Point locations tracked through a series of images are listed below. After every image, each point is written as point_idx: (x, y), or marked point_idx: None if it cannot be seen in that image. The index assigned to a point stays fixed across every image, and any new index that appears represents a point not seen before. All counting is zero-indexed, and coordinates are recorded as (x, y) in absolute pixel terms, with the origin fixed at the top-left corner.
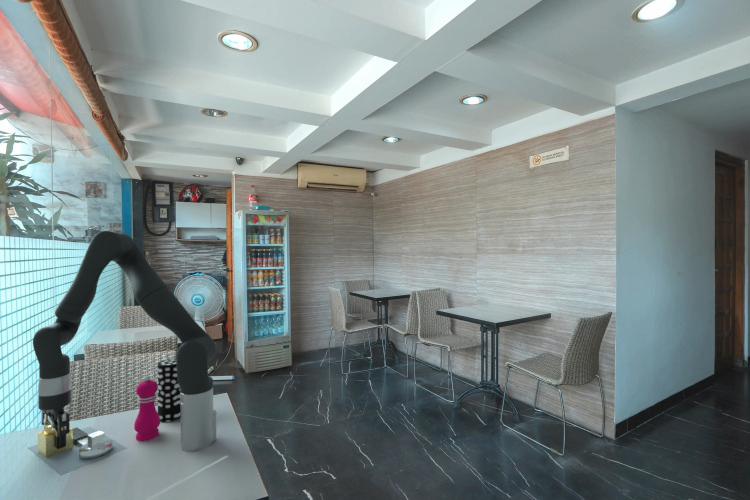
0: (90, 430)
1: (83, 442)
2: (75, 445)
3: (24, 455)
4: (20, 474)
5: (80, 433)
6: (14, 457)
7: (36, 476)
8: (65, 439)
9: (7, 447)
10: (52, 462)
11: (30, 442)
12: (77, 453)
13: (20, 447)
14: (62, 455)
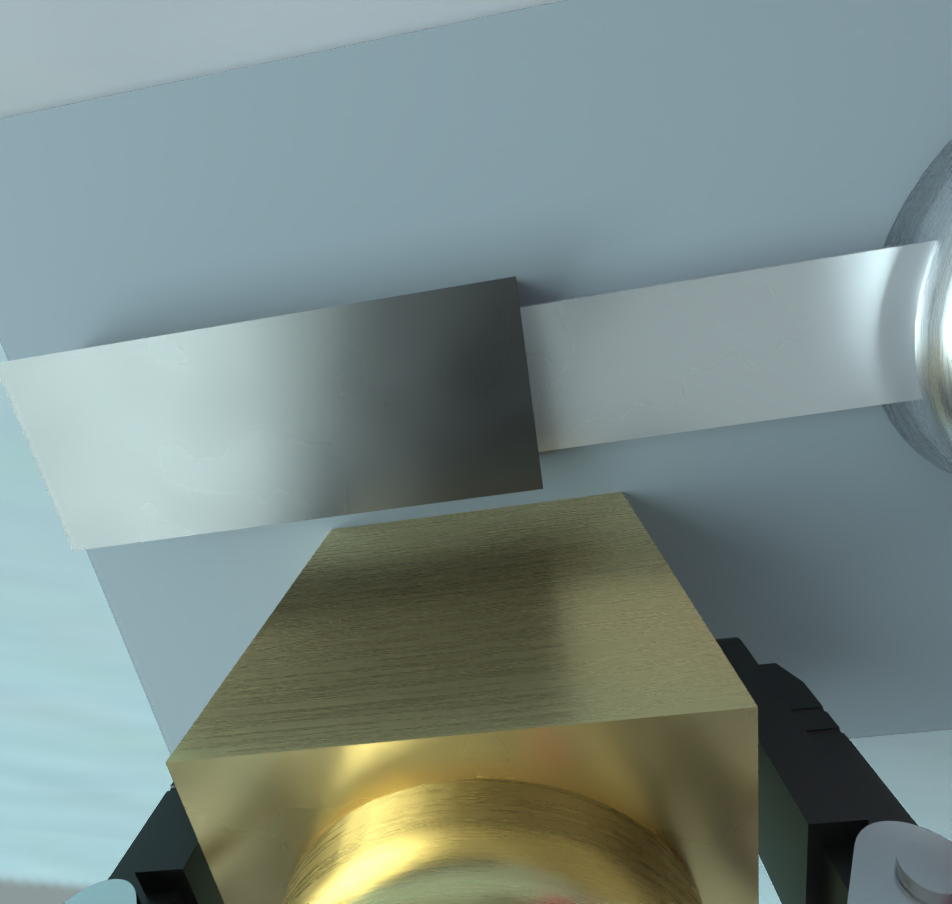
0: (117, 170)
1: (708, 390)
2: (555, 452)
3: None
4: (758, 882)
5: (354, 374)
6: None
7: (949, 816)
8: (788, 718)
9: (17, 875)
10: (823, 707)
11: (19, 746)
12: (853, 482)
13: (96, 814)
14: (730, 611)
